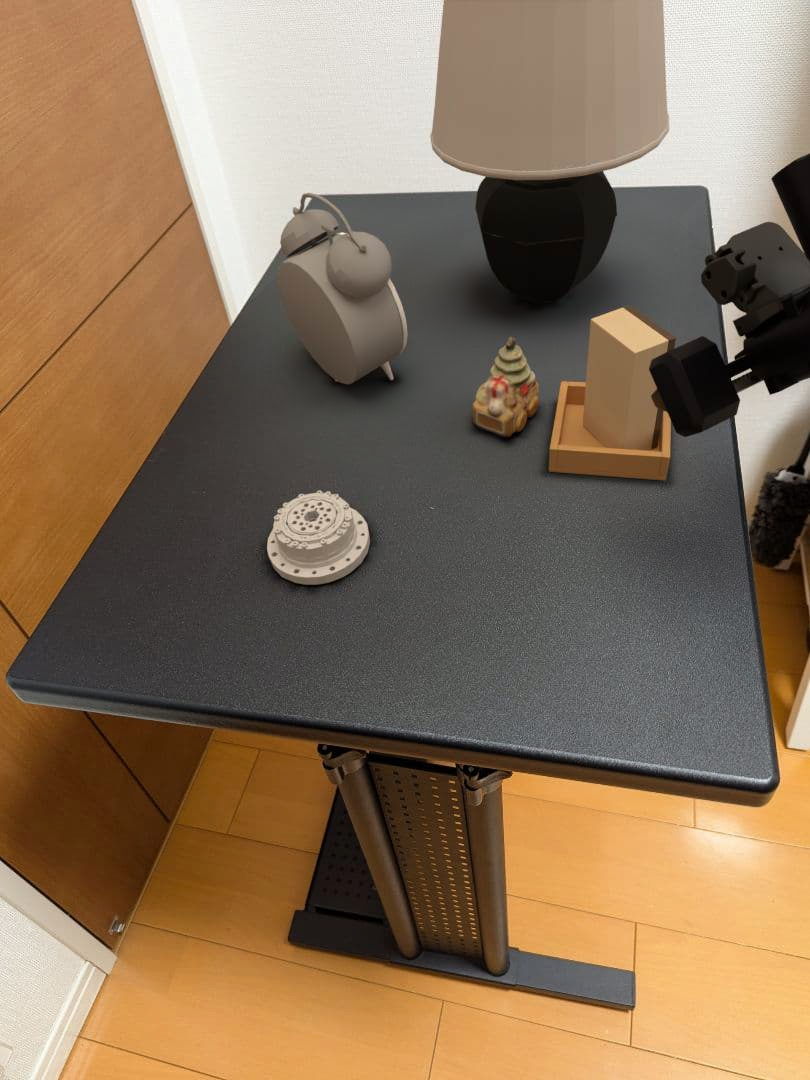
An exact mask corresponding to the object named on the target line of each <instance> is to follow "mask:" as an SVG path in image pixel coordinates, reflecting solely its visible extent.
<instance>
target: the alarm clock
mask: <svg viewBox="0 0 810 1080" xmlns="http://www.w3.org/2000/svg"><path fill="white" fill-rule="evenodd" d="M307 198H309V199H313V200H316V201H319V202H320V203H322V204H324V205H325V206H326V207H327V208H329V209H331V210H332V211H333V212H334V213H335V215H337V216H338V218H339V220H340V221H341V223H342V224H343V226H344V228H345V230H346V232H343V231H342V232H341V231H340V232H337V233H335V232H336V231H337V229H339V227H340V224H339V222H338V220H337V219H336V218H335V217H334V215H333V214H332V213H331V212H329V211H326V210H324V209H317V208H316V209H314V208H313V209H308V210H305V206H306V205H305V204H306V203H305V202H306V200H307ZM292 214H293V217H292V218H291V219H290V220H289V221H288V222H287V223H286V225H285V226H284V227H283V230H282V233H281V235H280V241H279V243H280V247H281V251H282V253H283V254H284V256H285V258H287V259H285V260H284V261H283V262H281V264H280V265H279V267H278V273H277V281H278V289H279V292H280V296H281V300H282V303H283V306H284V308H285V311H286V313H287V315H288V319H289V320H290V322H291V324H292V326H293V328H294V330H295V333H296V334H297V336H298V338H299V339H300V341H301V342H302V344H303V346H304V348H305V349H306V351H308V353H309V354H310V356H311V358H313V360H314V361H315V362H316V363H317V364H318V365H319V367H320V368H321V369H322V370H323V371H324V372H325V373H326V374H328V375H329V376H330V377H331V378H333V380H334V381H335V382H337V383H338V382H339V383H341V384H344V385H351V384H354V383H355V382H357V381H359V380H361V379H362V378H363V377H365V376H366V375H369V373H372V372H373V371H375V370H376V369H379V367H380V368H381V369H382V370H383V372H384V373H385V374H386V376H387V377H388V379H389V380H390V381H393V380H394V379H395V378H394V375H393V372H392V368H391V364H390V362H389V361H391V360H393V359H394V358H395V357H397V356H399V355H400V354H402V353H403V352H404V350H405V348H406V346H407V342H408V334H409V333H408V326H407V319H406V315H405V314H406V313H405V311H404V307H403V305H402V301H401V299H400V297H399V294H398V292H397V289H396V287H395V285H394V283H393V281H392V280H391V275H392V272H393V267H392V264H393V263H392V257H391V254H390V251H389V250H388V248H387V246H386V244H385V243H384V242H382V240H380V239H379V238H378V237H377V236H375V235H373V234H370V233H369V232H366V231H353V229H352V228H351V226H350V224H349V222H348V220H347V218H346V217H345V216H344V214H343V212H342V211H341V210H340V209H339V208H338V207H337V206H336V205H334V204H333V203H332V202H331V201H330V200H328V199H326V198H325V197H323V196H321V195H318V194H316V193H313V192H305V193H303V194H302V195H301V199H300V206H299V208H298V207H296V206H294V207H292Z"/></svg>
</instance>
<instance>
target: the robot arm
mask: <svg viewBox="0 0 810 1080" xmlns="http://www.w3.org/2000/svg"><path fill="white" fill-rule="evenodd" d="M770 179H771V181H772V185H773V186H774V188H775V190H776V193H777V194H778V198H779V199H780V202H781V204H782V206H783V207H784V211H785V213H786V215H787V217H788V220H789V222H790V224H791V226H792V229H793V231H794V233H795V235H796V237H797V240H798V242H799V245H800V246H801V247H800V246H799V245H798V244H797V243H796V242H795V241H794V239H793V238H792V237H791V236H790V235H789V234H788V232H787V231H786V230H785V229H784V228H783V227H782V225H780V224H779V223H776V222H774V221H765V222H762V223H760V224H758V225H754V226H753V227H750V228H748V229H745V230H743V231H741V232H739V233H738V232H737V233H736V234H734V235H732V236H730V238H729V239H728V241H727V242H726V243H725V244H723V245H720V246H719V247H718V249H716V251H715V252H712V253H710V254H708V255H707V256H706V257H705V259H704V263H705V265H706V266H705V268H704V269H703V271H702V272H701V274H700V281H701V282H700V283H701V284H702V285H703V287H704V288H705V290H706V291H707V292H708V294H710V296H711V297H712V298H713V299H714V301H715V302H716V303H717V304H718V305H719V306H726V305H728V304H730V303H732V304H733V305H734V306H735V308H737V310H738V311H740V312H742V313H745V314H744V315H742V316H740V317H738V318H736V319H733V320H732V323H733V325H734V328H735V330H736V332H737V335H738V336H739V337H744V340H743V342H742V343H743V345H742V346H743V349H742V350H740V351H739V352H737V354H735V355H734V357H733V358H734V360H732V361H729V362H728V363H725V361H724V359H723V357H722V354H721V351H720V350H719V346H718V345H717V343H716V342H714V341H713V340H711V339H709V338H707V337H706V336H705V335H701V336H699V337H697V338H694V339H692V340H691V341H688V342H686V343H684V344H681V345H679V346H677V347H674V349H673V350H670V351H668V352H666V353H664V354H662V355H660V356H658V357H656V358H654V359H652V360H651V364H650V367H649V371H650V373H651V376H652V378H653V380H654V383H655V385H656V387H657V389H656V391H655V392H654V393H653V394H652V395H651V398H652V400H653V403H654V405H655V407H656V408H659V409H661V410H663V411H666V412H668V415H669V417H670V419H671V425H672V427H673V428H674V431H675V433H676V434H678V435H680V436H682V437H684V438H687V437H690V436H694V435H697V434H701V433H703V432H705V431H707V430H709V429H711V428H713V427H715V426H717V425H719V424H721V423H723V422H725V421H727V420H729V419H731V418H734V417H735V416H737V414H738V411H739V407H740V403H741V398H740V396H739V394H740V393H741V392H743V391H745V390H747V389H750V388H751V387H754V386H755V385H757V384H759V383H762V382H764V384H765V387H766V389H767V391H768V394H769V396H771V395H775V394H777V393H780V392H782V391H785V390H786V389H789V388H791V387H792V386H794V385H797V384H799V383H800V382H802V381H805V380H808V379H810V152H809V153H807V154H804V155H802V156H800V157H798V158H796V159H794V160H793V161H791V162H789V163H788V164H787V165H785V166H784V167H782V168H781V169H779V171H777V172H776V173H775V174H774V175H773V176H772V177H771V178H770ZM748 370H751V371H748ZM747 371H748V372H747ZM744 372H746V373H745V374H742V373H744ZM740 374H742V375H740ZM738 375H740V376H738ZM736 376H738V377H736ZM735 377H736V378H735ZM732 378H734V379H732Z"/></svg>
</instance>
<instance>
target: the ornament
mask: <svg viewBox="0 0 810 1080" xmlns="http://www.w3.org/2000/svg"><path fill="white" fill-rule="evenodd" d="M539 393H540V385H539V383H538V381H536V374H535V373H534V372H533V370H531V367H530V366H529V364H528V362H527V358H526V356H525V355H524V354H523V349H521V347H520V345H517V344H516V338H515V337H512V336H510V337H509V338H508V339H507V341H506V343H505V345H504V346H502V347H501V348H499V350H498V355H497V356H496V357H495V358H494V364H493V365H492V366H491V368H490V375H489V376H488V378H487V379H486V381H485V382H484V383H483V384H481V385H480V386H479V387H478V390H477V391H476V394H475V401H474V402H473V403H472V405H471V406H472V408H471V413H472V421H473V423H474V425H475V426H476V427H477V428H479V429H481V430H484V431H487V432H489V433H492V434H496V435H497V436H499V437H502V438H509V437H511V436H512V435H513V434H514V433H520V432H522V430H524V428H525V425H526V424H527V421H528V418H532V417H533V416H534V415H535V413H537V411H538V407H539V404H540V399H539V395H540V394H539Z"/></svg>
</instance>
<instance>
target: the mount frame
mask: <svg viewBox="0 0 810 1080" xmlns="http://www.w3.org/2000/svg"><path fill="white" fill-rule="evenodd" d="M585 388H586V381H565V380H562V381H560V386H559V392H558V397H557V398H558V399H557V404H556V409H555V417H554V420H553V426H552V427H553V428H552V432H551V438H550V445H549V456H548V458H549V459H548V472H549V473H562V474H563V473H564V474H576V475H586V476H587V475H588V476H601V477H612V478H613V477H614V478H625V479H627V478H629V479H640V480H654V481H664V482H665V481H667V478H668V477H667V476H668V471H669V467H670V461H671V440H672V439H671V437H672V436H671V435H672V433H671V432H672V431H671V430H672V428H671V427H672V422H671V419H670V417H669V415H668V412H666V411H663V417H662V423H661V429H660V435H659V441H658V446H657V447H656V448H654V449H651V450H649V451H644V450H630V449H616V448H606V447H605V446H604V445H602V444H601V443H600V442H599V441H598V440H597V439H596V438H595V437H594V436H593V435H592V434H591V433H590V432H589V431H588V430H587V429H585V428H584V427H583V414H584V401H585Z"/></svg>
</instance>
